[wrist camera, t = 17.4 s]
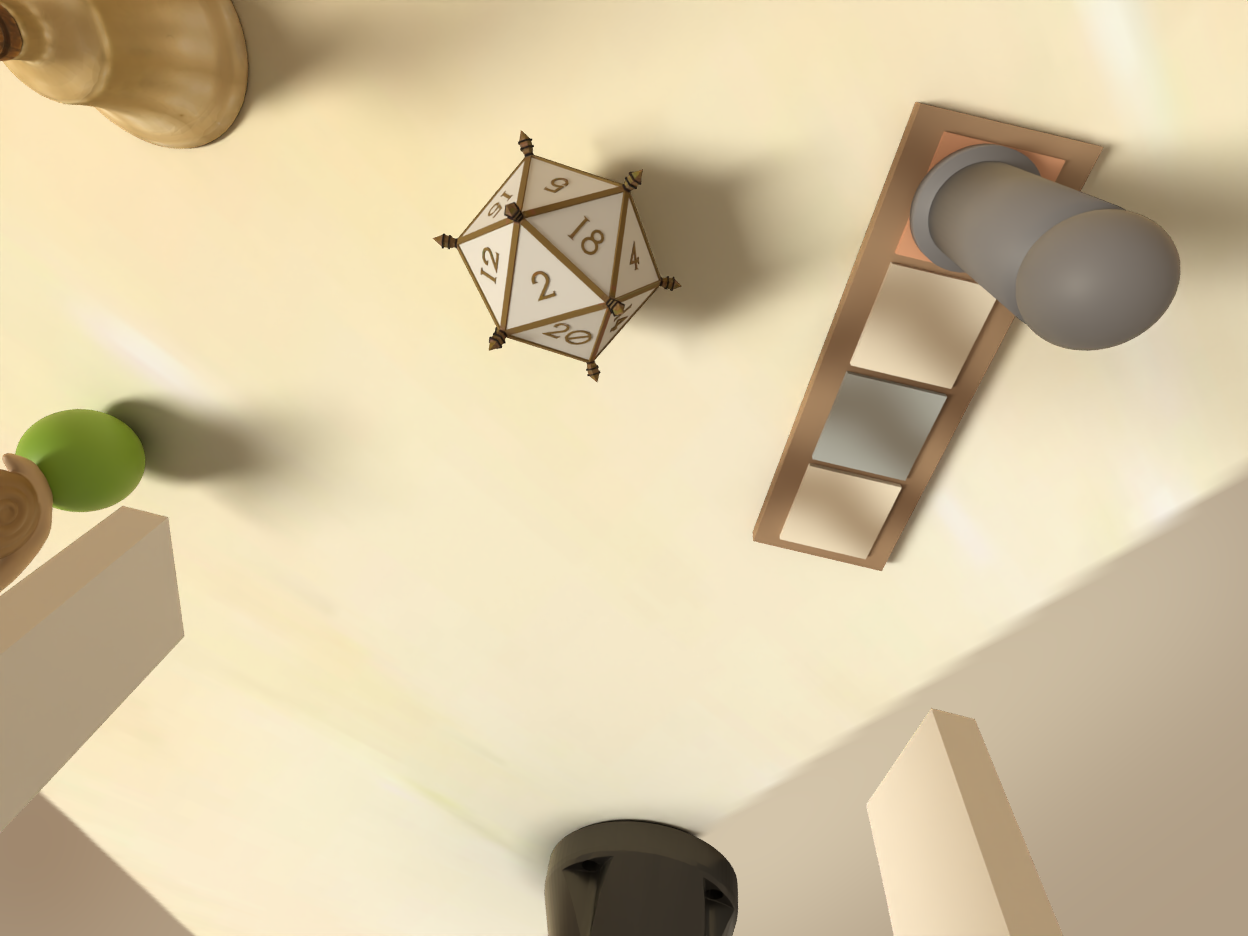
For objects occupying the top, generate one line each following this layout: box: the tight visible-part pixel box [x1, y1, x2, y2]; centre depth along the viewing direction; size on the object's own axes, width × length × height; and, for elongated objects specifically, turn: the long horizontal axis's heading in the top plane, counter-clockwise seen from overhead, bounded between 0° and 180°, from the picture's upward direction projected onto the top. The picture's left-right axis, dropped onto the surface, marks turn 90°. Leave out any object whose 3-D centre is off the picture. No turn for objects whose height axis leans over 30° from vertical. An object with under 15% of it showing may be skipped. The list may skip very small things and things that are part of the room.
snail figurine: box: [0, 409, 145, 592], centre depth 34 cm, size 5×6×12 cm
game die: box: [433, 131, 681, 382], centre depth 27 cm, size 9×8×10 cm
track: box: [753, 102, 1103, 571], centre depth 31 cm, size 21×7×1 cm, turn 168°
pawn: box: [909, 143, 1180, 351], centre depth 22 cm, size 5×5×12 cm
